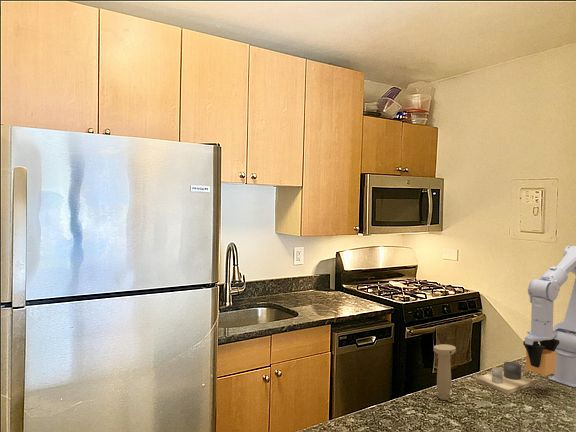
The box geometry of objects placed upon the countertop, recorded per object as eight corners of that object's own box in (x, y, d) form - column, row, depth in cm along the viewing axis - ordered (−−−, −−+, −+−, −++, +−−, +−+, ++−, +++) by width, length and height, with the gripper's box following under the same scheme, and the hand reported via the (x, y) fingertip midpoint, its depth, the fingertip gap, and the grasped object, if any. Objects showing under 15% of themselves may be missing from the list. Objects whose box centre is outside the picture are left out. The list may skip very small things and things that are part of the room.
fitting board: (501, 373, 150) (502, 357, 150) (534, 384, 141) (534, 368, 141) (475, 381, 143) (475, 365, 143) (508, 394, 134) (508, 376, 133)
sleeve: (536, 365, 139) (536, 346, 139) (555, 372, 134) (556, 352, 134) (525, 369, 136) (526, 349, 136) (545, 375, 131) (545, 355, 131)
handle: (458, 399, 129) (459, 348, 129) (440, 403, 127) (441, 351, 126) (446, 393, 134) (447, 343, 133) (429, 396, 131) (430, 345, 131)
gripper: (541, 313, 142) (540, 356, 142) (515, 319, 134) (514, 364, 135) (565, 318, 136) (564, 363, 136) (538, 325, 128) (537, 372, 129)
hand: (540, 364), depth 135 cm, fingers closed on sleeve, 6 cm apart
